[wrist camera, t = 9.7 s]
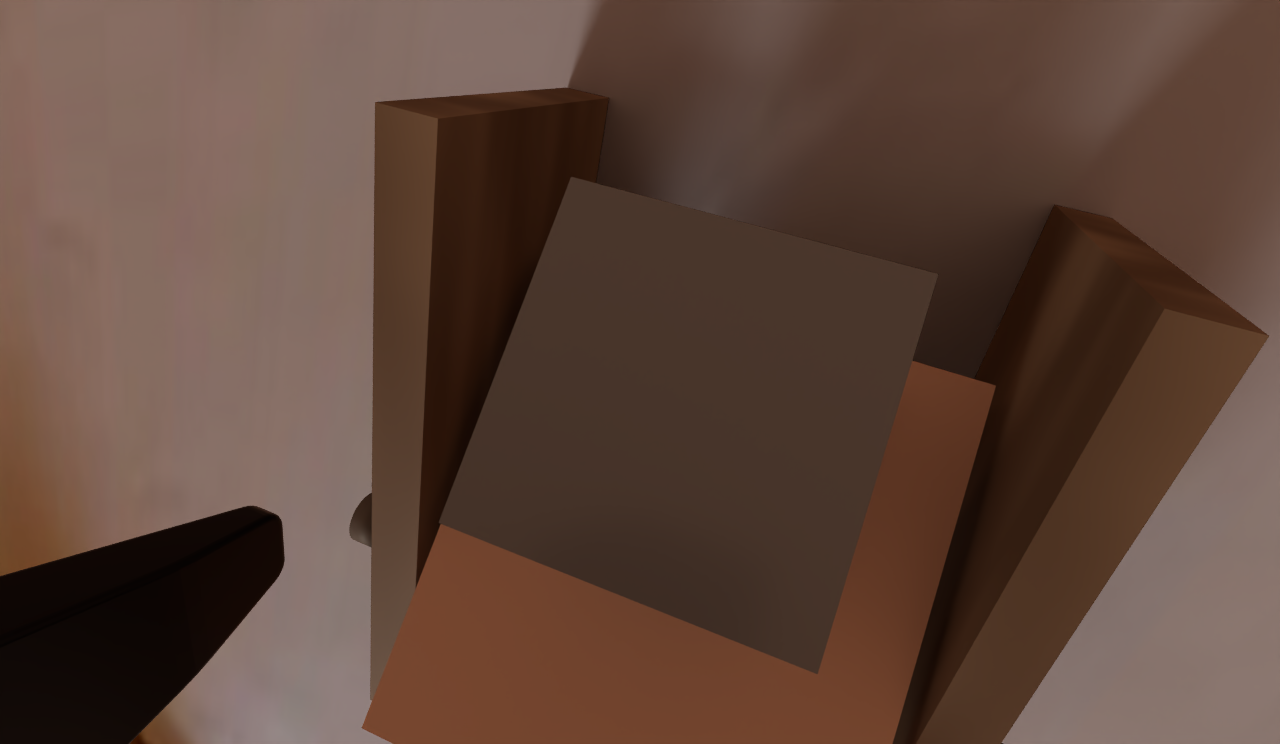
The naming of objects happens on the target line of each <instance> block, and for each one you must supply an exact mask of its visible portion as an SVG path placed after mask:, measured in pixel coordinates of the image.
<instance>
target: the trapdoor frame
mask: <svg viewBox="0 0 1280 744" xmlns="http://www.w3.org/2000/svg"><path fill="white" fill-rule="evenodd" d="M608 101H609V98H607V97H603V96H599V95H595V94H591V93H587V92H582V91H578V90H574V89H570V88H556V89H542V90H529V91H516V92H503V93H490V94H476V95H463V96H450V97H437V98H424V99H410V100H397V101H384V102H375V186H374V309H373V432H372V493H370V494H369V495H367V496H366V497H365V498H364V499H363V500H362V501H361V503H360V504H359V505H358V507H357V508H356V510H355V512H354V514H353V517H352V519H351V523H350V530H349V531H350V536H351V538H352V539H353V540H355V541H358V542H360V543H363V544H365V545H367V546H370V547H372V555H371V678H370V700H373V698H374V695H375V693H376V690H377V687H378V685H379V682H380V680H381V677H382V674H383V672H384V669H385V667H386V664H387V662H388V659H389V656H390V654H391V651H392V649H393V646H394V643H395V641H396V638H397V636H398V633H399V631H400V628H401V625H402V623H403V620H404V618H405V615H406V613H407V610H408V607H409V605H410V602H411V600H412V597H413V594H414V592H415V589H416V587H417V584H418V582H419V579H420V576H421V574H422V571H423V569H424V566H425V563H426V561H427V558H428V556H429V553H430V551H431V548H432V545H433V543H434V540H435V538H436V535H437V532H438V530H439V527H440V525H441V524H440V523H439V520H440V518H441V515H442V512H443V510H444V507H445V505H446V502H447V499H448V497H449V494H450V491H451V489H452V486H453V484H454V481H455V478H456V476H457V473H458V471H459V468H460V465H461V463H462V460H463V458H464V455H465V452H466V450H467V447H468V445H469V442H470V439H471V437H472V434H473V432H474V429H475V426H476V424H477V421H478V418H479V416H480V413H481V411H482V408H483V405H484V403H485V400H486V398H487V395H488V392H489V390H490V387H491V385H492V382H493V379H494V377H495V374H496V372H497V369H498V366H499V364H500V361H501V358H502V356H503V353H504V351H505V348H506V345H507V343H508V340H509V338H510V335H511V332H512V330H513V327H514V325H515V322H516V319H517V317H518V314H519V312H520V309H521V306H522V304H523V301H524V299H525V296H526V293H527V291H528V288H529V285H530V283H531V280H532V278H533V275H534V272H535V270H536V267H537V265H538V262H539V259H540V257H541V254H542V252H543V249H544V246H545V244H546V241H547V239H548V236H549V233H550V231H551V228H552V226H553V223H554V220H555V218H556V215H557V212H558V210H559V207H560V205H561V202H562V199H563V197H564V194H565V192H566V189H567V186H568V184H569V181H570V179H571V177H574V178H578V179H582V180H585V181H589V182H593V183H596V179H597V173H598V166H599V160H600V153H601V147H602V140H603V134H604V127H605V120H606V114H607V107H608ZM1268 337H1269V335H1267V334H1266V333H1265V332H1263V331H1262V330H1261V329H1259V328H1258V327H1257V326H1255V325H1254V324H1253V323H1251V322H1250V321H1249V320H1247V319H1246V318H1245V317H1243V316H1242V315H1241V314H1239V313H1238V312H1237V311H1235V310H1234V309H1233V308H1231V307H1230V306H1229V305H1227V304H1226V303H1225V302H1223V301H1222V300H1221V299H1219V298H1218V297H1217V296H1215V295H1214V294H1213V293H1211V292H1210V291H1209V290H1207V289H1206V288H1205V287H1203V286H1202V285H1201V284H1199V283H1198V282H1196V281H1195V280H1194V279H1192V278H1191V277H1190V276H1188V275H1187V274H1186V273H1184V272H1183V271H1182V270H1180V269H1179V268H1178V267H1176V266H1175V265H1174V264H1172V263H1171V262H1170V261H1168V260H1167V259H1166V258H1164V257H1163V256H1162V255H1160V254H1159V253H1158V252H1156V251H1155V250H1154V249H1152V248H1151V247H1150V246H1148V245H1147V244H1146V243H1144V242H1143V241H1142V240H1140V239H1139V238H1138V237H1136V236H1135V235H1134V234H1132V233H1131V232H1130V231H1128V230H1127V229H1126V228H1124V227H1123V226H1122V225H1120V224H1119V223H1118V222H1116V221H1115V220H1114V219H1112V218H1108V217H1104V216H1100V215H1096V214H1092V213H1087V212H1083V211H1079V210H1075V209H1071V208H1067V207H1062V206H1058V205H1054V207H1053V209H1052V211H1051V213H1050V216H1049V218H1048V220H1047V222H1046V224H1045V226H1044V229H1043V231H1042V233H1041V235H1040V237H1039V239H1038V242H1037V244H1036V246H1035V248H1034V250H1033V253H1032V255H1031V257H1030V259H1029V261H1028V263H1027V266H1026V268H1025V270H1024V272H1023V274H1022V277H1021V279H1020V281H1019V283H1018V285H1017V287H1016V290H1015V292H1014V294H1013V296H1012V298H1011V301H1010V303H1009V305H1008V307H1007V309H1006V311H1005V314H1004V316H1003V318H1002V320H1001V322H1000V324H999V327H998V329H997V331H996V333H995V335H994V338H993V340H992V342H991V344H990V346H989V348H988V351H987V353H986V355H985V357H984V359H983V362H982V364H981V366H980V368H979V370H978V372H977V375H976V377H975V380H979V381H982V382H985V383H989V384H992V385H996V387H995V391H994V394H993V398H992V401H991V405H990V408H989V412H988V415H987V419H986V422H985V426H984V429H983V432H982V436H981V439H980V443H979V446H978V450H977V453H976V457H975V460H974V464H973V467H972V470H971V474H970V477H969V481H968V484H967V488H966V491H965V495H964V498H963V502H962V505H961V509H960V512H959V515H958V519H957V522H956V526H955V529H954V533H953V536H952V540H951V543H950V547H949V550H948V554H947V557H946V560H945V564H944V567H943V571H942V574H941V578H940V581H939V585H938V588H937V592H936V595H935V598H934V602H933V605H932V609H931V612H930V616H929V619H928V623H927V626H926V630H925V633H924V637H923V640H922V643H921V647H920V650H919V654H918V657H917V661H916V664H915V668H914V671H913V675H912V678H911V682H910V685H909V688H908V692H907V695H906V699H905V702H904V706H903V709H902V713H901V716H900V720H899V723H898V726H897V730H896V733H895V737H894V740H893V744H1003V743H1001V742H1002V741H1003V739H1004V738H1005V736H1006V735H1007V733H1008V732H1009V730H1010V729H1011V727H1012V726H1013V724H1014V723H1015V721H1016V720H1017V718H1018V717H1019V715H1020V714H1021V712H1022V711H1023V709H1024V708H1025V706H1026V705H1027V703H1028V701H1029V700H1030V698H1031V697H1032V695H1033V694H1034V692H1035V691H1036V689H1037V688H1038V686H1039V685H1040V683H1041V682H1042V680H1043V679H1044V677H1045V676H1046V674H1047V673H1048V671H1049V670H1050V668H1051V667H1052V665H1053V664H1054V662H1055V660H1056V659H1057V657H1058V656H1059V654H1060V653H1061V651H1062V650H1063V648H1064V647H1065V645H1066V644H1067V642H1068V641H1069V639H1070V638H1071V636H1072V635H1073V633H1074V632H1075V630H1076V629H1077V627H1078V626H1079V624H1080V623H1081V621H1082V619H1083V618H1084V616H1085V615H1086V613H1087V612H1088V610H1089V609H1090V607H1091V606H1092V604H1093V603H1094V601H1095V600H1096V598H1097V597H1098V595H1099V594H1100V592H1101V591H1102V589H1103V588H1104V586H1105V585H1106V583H1107V582H1108V580H1109V578H1110V577H1111V575H1112V574H1113V572H1114V571H1115V569H1116V568H1117V566H1118V565H1119V563H1120V562H1121V560H1122V559H1123V557H1124V556H1125V554H1126V553H1127V551H1128V550H1129V548H1130V547H1131V545H1132V544H1133V542H1134V541H1135V539H1136V537H1137V536H1138V534H1139V533H1140V531H1141V530H1142V528H1143V527H1144V525H1145V524H1146V522H1147V521H1148V519H1149V518H1150V516H1151V515H1152V513H1153V512H1154V510H1155V509H1156V507H1157V506H1158V504H1159V503H1160V501H1161V500H1162V498H1163V496H1164V495H1165V493H1166V492H1167V490H1168V489H1169V487H1170V486H1171V484H1172V483H1173V481H1174V480H1175V478H1176V477H1177V475H1178V474H1179V472H1180V471H1181V469H1182V468H1183V466H1184V465H1185V463H1186V462H1187V460H1188V459H1189V457H1190V455H1191V454H1192V452H1193V451H1194V449H1195V448H1196V446H1197V445H1198V443H1199V442H1200V440H1201V439H1202V437H1203V436H1204V434H1205V433H1206V431H1207V430H1208V428H1209V427H1210V425H1211V424H1212V422H1213V421H1214V419H1215V417H1216V416H1217V414H1218V413H1219V411H1220V410H1221V408H1222V407H1223V405H1224V404H1225V402H1226V401H1227V399H1228V398H1229V396H1230V395H1231V393H1232V392H1233V390H1234V389H1235V387H1236V386H1237V384H1238V383H1239V381H1240V380H1241V378H1242V376H1243V375H1244V373H1245V372H1246V370H1247V369H1248V367H1249V366H1250V364H1251V363H1252V361H1253V360H1254V358H1255V357H1256V355H1257V354H1258V352H1259V351H1260V349H1261V348H1262V346H1263V345H1264V343H1265V342H1266V340H1267V339H1268Z"/></svg>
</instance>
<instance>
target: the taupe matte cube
mask: <svg viewBox="0 0 1280 744" xmlns="http://www.w3.org/2000/svg"><path fill="white" fill-rule="evenodd" d="M937 277H938V274H937V273H933V272H929V271H925V270H922V269H918V268H914V267H910V266H907V265H903V264H899V263H895V262H891V261H888V260H884V259H880V258H876V257H873V256H869V255H865V254H861V253H857V252H854V251H850V250H846V249H842V248H839V247H835V246H831V245H827V244H823V243H820V242H816V241H812V240H808V239H805V238H801V237H797V236H793V235H789V234H786V233H782V232H778V231H774V230H771V229H767V228H763V227H759V226H755V225H752V224H748V223H744V222H740V221H737V220H733V219H729V218H725V217H721V216H718V215H714V214H710V213H706V212H703V211H699V210H695V209H691V208H687V207H684V206H680V205H676V204H672V203H669V202H665V201H661V200H657V199H653V198H650V197H646V196H642V195H638V194H635V193H631V192H627V191H623V190H619V189H616V188H612V187H608V186H604V185H601V184H597V183H593V182H589V181H585V180H582V179H578V178H574V177H571V179H570V181H569V184H568V186H567V189H566V192H565V194H564V197H563V199H562V202H561V205H560V207H559V210H558V212H557V215H556V218H555V220H554V223H553V226H552V228H551V231H550V233H549V236H548V239H547V241H546V244H545V246H544V249H543V252H542V254H541V257H540V259H539V262H538V265H537V267H536V270H535V272H534V275H533V278H532V280H531V283H530V285H529V288H528V291H527V293H526V296H525V299H524V301H523V304H522V306H521V309H520V312H519V314H518V317H517V319H516V322H515V325H514V327H513V330H512V332H511V335H510V338H509V340H508V343H507V345H506V348H505V351H504V353H503V356H502V358H501V361H500V364H499V366H498V369H497V372H496V374H495V377H494V379H493V382H492V385H491V387H490V390H489V392H488V395H487V398H486V400H485V403H484V405H483V408H482V411H481V413H480V416H479V418H478V421H477V424H476V426H475V429H474V432H473V434H472V437H471V439H470V442H469V445H468V447H467V450H466V452H465V455H464V458H463V460H462V463H461V465H460V468H459V471H458V473H457V476H456V478H455V481H454V484H453V486H452V489H451V491H450V494H449V497H448V499H447V502H446V505H445V507H444V510H443V512H442V515H441V518H440V520H439V523H440V524H442V525H445V526H447V527H450V528H452V529H455V530H457V531H460V532H462V533H465V534H467V535H470V536H472V537H475V538H477V539H480V540H482V541H485V542H487V543H490V544H492V545H495V546H497V547H500V548H502V549H505V550H507V551H510V552H512V553H515V554H517V555H520V556H522V557H525V558H527V559H530V560H532V561H535V562H537V563H540V564H542V565H545V566H547V567H550V568H552V569H555V570H558V571H560V572H563V573H565V574H568V575H570V576H573V577H575V578H578V579H580V580H583V581H585V582H588V583H590V584H593V585H595V586H598V587H600V588H603V589H605V590H608V591H610V592H613V593H615V594H618V595H620V596H623V597H625V598H628V599H630V600H633V601H635V602H638V603H640V604H643V605H645V606H648V607H650V608H653V609H655V610H658V611H660V612H663V613H665V614H668V615H670V616H673V617H675V618H678V619H680V620H683V621H685V622H688V623H690V624H693V625H695V626H698V627H700V628H703V629H705V630H708V631H710V632H713V633H715V634H718V635H720V636H723V637H725V638H728V639H730V640H733V641H735V642H738V643H740V644H743V645H745V646H748V647H750V648H753V649H755V650H758V651H760V652H763V653H765V654H768V655H770V656H773V657H775V658H778V659H780V660H783V661H785V662H788V663H790V664H793V665H795V666H798V667H800V668H803V669H805V670H808V671H810V672H813V673H815V674H818V671H819V668H820V665H821V662H822V658H823V655H824V652H825V648H826V645H827V642H828V638H829V635H830V632H831V628H832V625H833V622H834V618H835V615H836V612H837V609H838V605H839V602H840V599H841V595H842V592H843V589H844V585H845V582H846V579H847V575H848V572H849V569H850V565H851V562H852V559H853V556H854V552H855V549H856V546H857V542H858V539H859V536H860V532H861V529H862V526H863V522H864V519H865V516H866V512H867V509H868V506H869V503H870V499H871V496H872V493H873V489H874V486H875V483H876V479H877V476H878V473H879V469H880V466H881V463H882V459H883V456H884V453H885V450H886V446H887V443H888V440H889V436H890V433H891V430H892V426H893V423H894V420H895V416H896V413H897V410H898V406H899V403H900V400H901V397H902V393H903V390H904V387H905V383H906V380H907V377H908V373H909V370H910V367H911V363H912V360H913V357H914V353H915V350H916V347H917V344H918V340H919V337H920V334H921V330H922V327H923V324H924V320H925V317H926V314H927V310H928V307H929V304H930V300H931V297H932V294H933V291H934V287H935V284H936V281H937Z"/></svg>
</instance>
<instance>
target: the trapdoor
mask: <svg viewBox="0 0 1280 744" xmlns="http://www.w3.org/2000/svg"><path fill="white" fill-rule="evenodd" d="M995 387H996V385H992V384H989V383H985V382H982V381H979V380H975V379H972V378H969V377H965V376H962V375H959V374H955V373H952V372H948V371H945V370H942V369H938V368H935V367H932V366H928V365H925V364H922V363H918V362H915V361H912V363H911V367H910V370H909V373H908V377H907V380H906V383H905V387H904V390H903V393H902V397H901V400H900V403H899V406H898V410H897V413H896V416H895V420H894V423H893V426H892V430H891V433H890V436H889V440H888V443H887V446H886V450H885V453H884V456H883V459H882V463H881V466H880V469H879V473H878V476H877V479H876V483H875V486H874V489H873V493H872V496H871V499H870V503H869V506H868V509H867V512H866V516H865V519H864V522H863V526H862V529H861V532H860V536H859V539H858V542H857V546H856V549H855V552H854V556H853V559H852V562H851V565H850V569H849V572H848V575H847V579H846V582H845V585H844V589H843V592H842V595H841V599H840V602H839V605H838V609H837V612H836V615H835V618H834V622H833V625H832V628H831V632H830V635H829V638H828V642H827V645H826V648H825V652H824V655H823V658H822V662H821V665H820V668H819V671H818V674H815V673H813V672H810V671H808V670H805V669H803V668H800V667H798V666H795V665H793V664H790V663H788V662H785V661H783V660H780V659H778V658H775V657H773V656H770V655H768V654H765V653H763V652H760V651H758V650H755V649H753V648H750V647H748V646H745V645H743V644H740V643H738V642H735V641H733V640H730V639H728V638H725V637H723V636H720V635H718V634H715V633H713V632H710V631H708V630H705V629H703V628H700V627H698V626H695V625H693V624H690V623H688V622H685V621H683V620H680V619H678V618H675V617H673V616H670V615H668V614H665V613H663V612H660V611H658V610H655V609H653V608H650V607H648V606H645V605H643V604H640V603H638V602H635V601H633V600H630V599H628V598H625V597H623V596H620V595H618V594H615V593H613V592H610V591H608V590H605V589H603V588H600V587H598V586H595V585H593V584H590V583H588V582H585V581H583V580H580V579H578V578H575V577H573V576H570V575H568V574H565V573H563V572H560V571H558V570H555V569H552V568H550V567H547V566H545V565H542V564H540V563H537V562H535V561H532V560H530V559H527V558H525V557H522V556H520V555H517V554H515V553H512V552H510V551H507V550H505V549H502V548H500V547H497V546H495V545H492V544H490V543H487V542H485V541H482V540H480V539H477V538H475V537H472V536H470V535H467V534H465V533H462V532H460V531H457V530H455V529H452V528H450V527H447V526H445V525H442V524H441V525H440V527H439V530H438V532H437V535H436V538H435V540H434V543H433V545H432V548H431V551H430V553H429V556H428V558H427V561H426V563H425V566H424V569H423V571H422V574H421V576H420V579H419V582H418V584H417V587H416V589H415V592H414V594H413V597H412V600H411V602H410V605H409V607H408V610H407V613H406V615H405V618H404V620H403V623H402V625H401V628H400V631H399V633H398V636H397V638H396V641H395V643H394V646H393V649H392V651H391V654H390V656H389V659H388V662H387V664H386V667H385V669H384V672H383V674H382V677H381V680H380V682H379V685H378V687H377V690H376V693H375V695H374V698H373V700H372V703H371V705H370V708H369V711H368V713H367V716H366V718H365V721H364V724H363V726H362V728H363V729H365V730H367V731H369V732H371V733H373V734H375V735H377V736H379V737H381V738H383V739H385V740H387V741H389V742H391V743H393V744H893V740H894V737H895V733H896V730H897V726H898V723H899V720H900V716H901V713H902V709H903V706H904V702H905V699H906V695H907V692H908V688H909V685H910V682H911V678H912V675H913V671H914V668H915V664H916V661H917V657H918V654H919V650H920V647H921V643H922V640H923V637H924V633H925V630H926V626H927V623H928V619H929V616H930V612H931V609H932V605H933V602H934V598H935V595H936V592H937V588H938V585H939V581H940V578H941V574H942V571H943V567H944V564H945V560H946V557H947V554H948V550H949V547H950V543H951V540H952V536H953V533H954V529H955V526H956V522H957V519H958V515H959V512H960V509H961V505H962V502H963V498H964V495H965V491H966V488H967V484H968V481H969V477H970V474H971V470H972V467H973V464H974V460H975V457H976V453H977V450H978V446H979V443H980V439H981V436H982V432H983V429H984V426H985V422H986V419H987V415H988V412H989V408H990V405H991V401H992V398H993V394H994V391H995Z"/></svg>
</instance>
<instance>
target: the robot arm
mask: <svg viewBox="0 0 1280 744" xmlns="http://www.w3.org/2000/svg"><path fill="white" fill-rule="evenodd" d="M284 560H285V557H284V542H283V528H282V521H281V519H280V518H279V516H278V515H276V514H274V513H272V512H269V511H267V510H265V509H262V508H260V507H257V506H246V507H242V508H238V509H235V510H231V511H228V512H224V513H221V514H217V515H214V516H210V517H207V518H203V519H199V520H196V521H192V522H189V523H185V524H182V525H178V526H175V527H171V528H168V529H164V530H161V531H157V532H154V533H150V534H147V535H143V536H140V537H136V538H133V539H129V540H126V541H122V542H119V543H115V544H112V545H108V546H105V547H101V548H98V549H94V550H91V551H87V552H84V553H80V554H76V555H73V556H69V557H66V558H62V559H59V560H55V561H52V562H48V563H45V564H41V565H38V566H34V567H31V568H27V569H24V570H20V571H17V572H13V573H10V574H6V575H3V576H0V744H129V743H130V742H131V741H132V740H133V739H134V738H135V737H136V736H137V735H138V734H139V733H140V732H141V731H142V730H143V729H144V728H145V727H146V726H147V725H148V724H149V723H150V722H151V721H152V720H153V719H154V718H155V717H156V716H157V715H158V714H159V713H160V712H161V711H162V710H163V709H164V708H165V707H166V706H167V705H168V704H169V703H170V702H171V701H172V700H173V699H174V698H175V697H176V696H177V695H178V694H179V693H180V692H181V691H182V690H183V689H184V688H185V687H186V685H187V684H188V683H189V682H190V681H191V680H192V679H193V678H194V677H195V676H196V675H197V674H198V673H199V672H200V670H201V669H202V668H203V667H204V666H205V665H206V664H207V662H208V661H209V660H210V659H211V658H212V657H213V655H214V654H215V653H216V652H217V651H218V649H219V648H220V647H221V646H222V645H223V643H224V642H225V641H226V640H227V639H228V637H229V636H230V635H231V634H232V633H233V631H234V630H235V629H236V628H237V627H238V625H239V624H240V623H241V622H242V620H243V619H244V618H245V617H246V616H247V614H248V613H249V612H250V611H251V610H252V608H253V607H254V606H255V605H256V604H257V602H258V601H259V600H260V599H261V598H262V596H263V595H264V594H265V593H266V592H267V590H268V589H269V588H270V587H271V586H272V584H273V583H274V582H275V581H276V579H277V578H278V576H279V575H280V573H281V571H282V568H283V566H284Z"/></svg>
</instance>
